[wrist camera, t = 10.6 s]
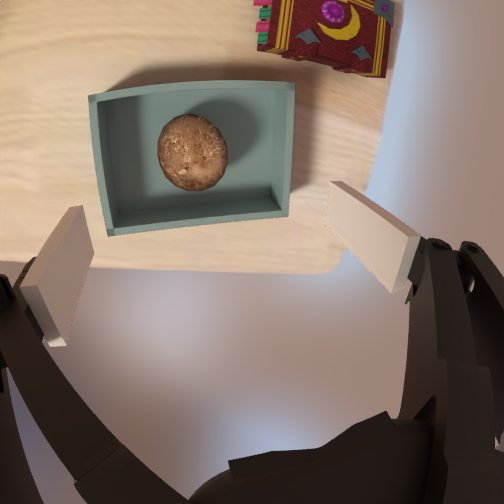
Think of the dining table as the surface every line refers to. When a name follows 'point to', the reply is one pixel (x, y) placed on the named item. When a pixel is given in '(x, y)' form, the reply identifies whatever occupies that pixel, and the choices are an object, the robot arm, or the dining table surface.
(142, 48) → the dining table surface
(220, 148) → the mushroom
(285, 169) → the open rectangular box
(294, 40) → the decorative book
